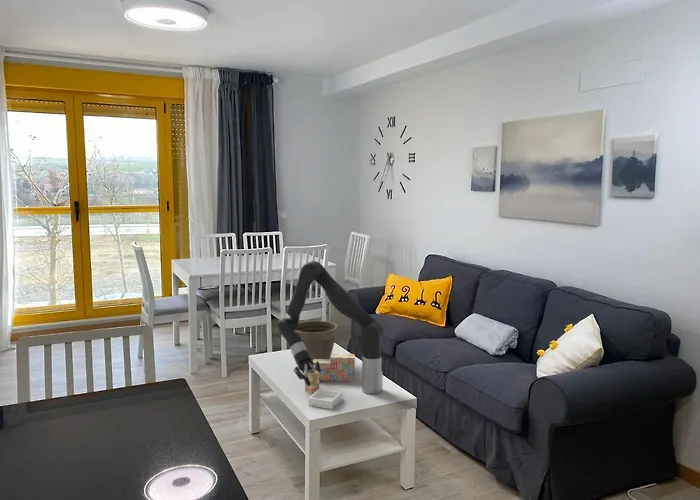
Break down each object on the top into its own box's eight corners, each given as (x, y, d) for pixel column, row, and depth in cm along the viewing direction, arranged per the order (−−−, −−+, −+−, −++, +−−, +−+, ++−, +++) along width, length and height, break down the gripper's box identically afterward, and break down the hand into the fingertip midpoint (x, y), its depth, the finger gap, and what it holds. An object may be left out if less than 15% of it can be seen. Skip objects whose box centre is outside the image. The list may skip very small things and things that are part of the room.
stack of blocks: (312, 380, 281) (312, 357, 279) (313, 376, 287) (313, 353, 285) (354, 381, 280) (354, 357, 279) (354, 376, 287) (354, 353, 285)
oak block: (313, 388, 270) (313, 368, 268) (319, 391, 266) (319, 371, 264) (304, 391, 267) (304, 371, 265) (310, 394, 263) (310, 374, 261)
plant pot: (286, 360, 311) (286, 322, 308) (328, 354, 320) (327, 318, 317) (300, 375, 288) (300, 334, 285) (344, 368, 297) (344, 329, 294)
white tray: (341, 399, 257) (341, 392, 257) (331, 409, 247) (331, 401, 246) (319, 395, 261) (319, 388, 261) (308, 405, 251) (308, 397, 250)
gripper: (290, 352, 265) (304, 384, 257) (315, 346, 274) (329, 377, 266) (285, 360, 270) (298, 391, 262) (309, 354, 279) (323, 384, 271)
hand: (314, 384), depth 264 cm, fingers closed on oak block, 5 cm apart
